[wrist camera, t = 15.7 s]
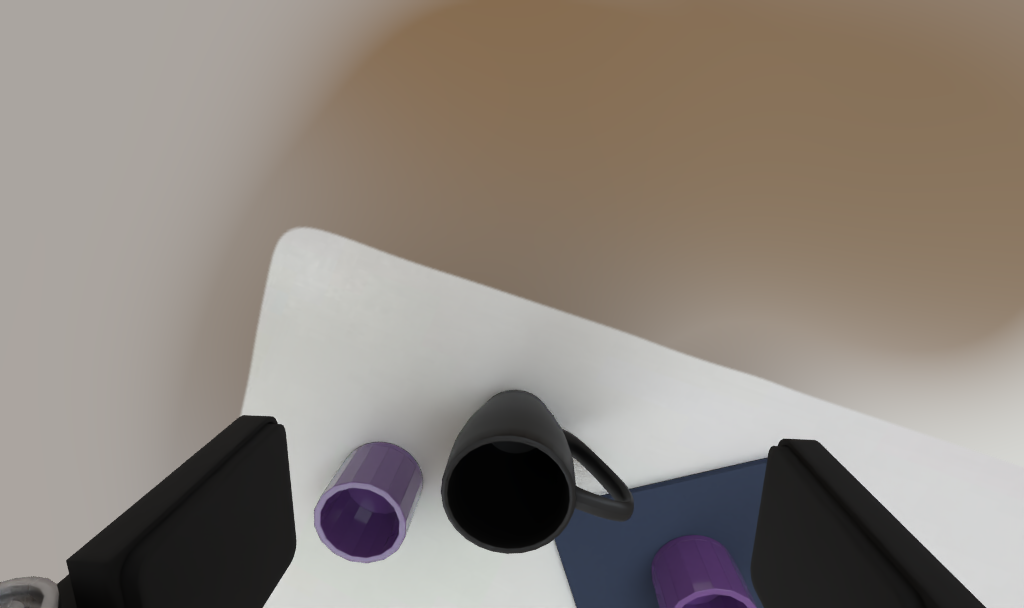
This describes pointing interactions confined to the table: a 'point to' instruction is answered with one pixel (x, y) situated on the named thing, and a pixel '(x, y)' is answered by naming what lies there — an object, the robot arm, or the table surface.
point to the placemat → (661, 534)
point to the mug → (522, 477)
